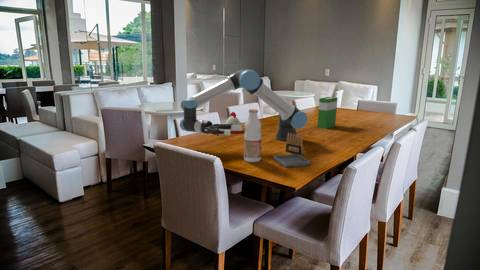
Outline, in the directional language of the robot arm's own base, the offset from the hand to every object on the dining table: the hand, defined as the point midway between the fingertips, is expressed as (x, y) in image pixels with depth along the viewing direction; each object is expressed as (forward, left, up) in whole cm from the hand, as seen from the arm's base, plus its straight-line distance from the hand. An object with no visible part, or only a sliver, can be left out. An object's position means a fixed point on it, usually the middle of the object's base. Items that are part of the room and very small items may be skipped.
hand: (235, 130), depth 182 cm
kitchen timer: (-19, -67, -16) cm, 71 cm away
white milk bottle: (-7, +7, -16) cm, 19 cm away
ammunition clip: (-36, +1, -16) cm, 39 cm away
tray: (-26, +17, -16) cm, 35 cm away
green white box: (-99, -61, -16) cm, 117 cm away
